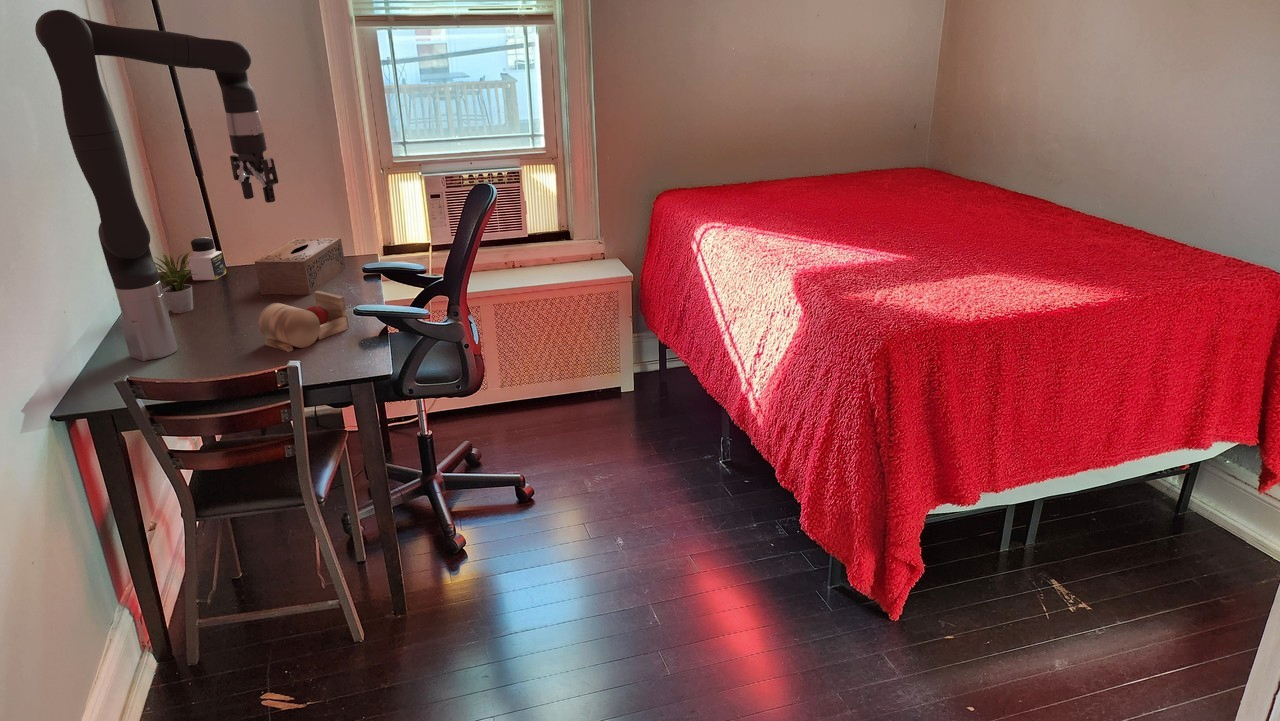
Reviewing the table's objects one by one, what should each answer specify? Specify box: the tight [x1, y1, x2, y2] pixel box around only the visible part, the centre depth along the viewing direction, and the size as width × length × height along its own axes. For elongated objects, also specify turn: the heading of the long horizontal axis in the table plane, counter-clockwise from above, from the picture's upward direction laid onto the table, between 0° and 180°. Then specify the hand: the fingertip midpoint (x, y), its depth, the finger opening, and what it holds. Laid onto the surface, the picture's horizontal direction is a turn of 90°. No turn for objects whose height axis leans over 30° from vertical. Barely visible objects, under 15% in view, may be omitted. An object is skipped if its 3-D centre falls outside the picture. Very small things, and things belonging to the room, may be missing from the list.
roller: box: [258, 302, 320, 353], centre depth 201 cm, size 11×9×9 cm
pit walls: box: [313, 290, 350, 341], centre depth 210 cm, size 10×12×8 cm
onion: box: [304, 305, 330, 325], centre depth 209 cm, size 6×6×8 cm
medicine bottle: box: [187, 236, 227, 281], centre depth 254 cm, size 7×7×12 cm
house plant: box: [154, 249, 197, 314], centre depth 226 cm, size 14×14×16 cm
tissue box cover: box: [254, 237, 347, 296], centre depth 248 cm, size 26×14×10 cm, turn 176°
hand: (259, 200), depth 203 cm, fingers open, 8 cm apart
